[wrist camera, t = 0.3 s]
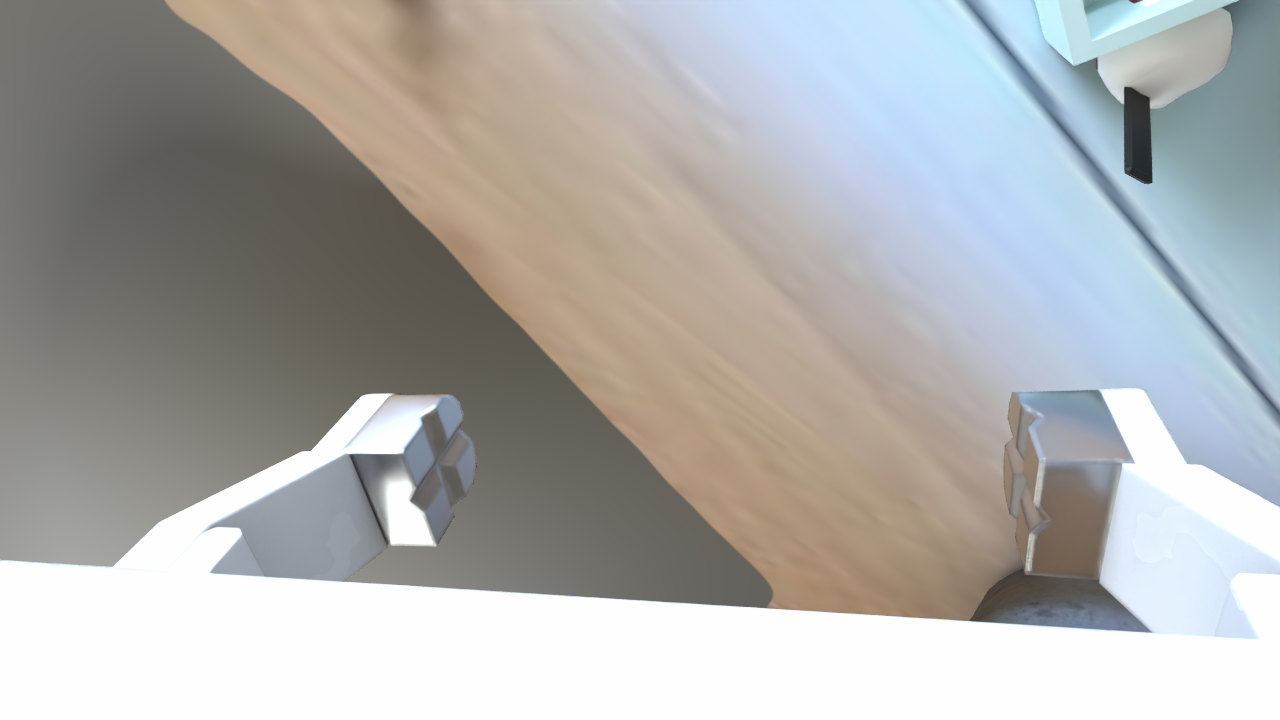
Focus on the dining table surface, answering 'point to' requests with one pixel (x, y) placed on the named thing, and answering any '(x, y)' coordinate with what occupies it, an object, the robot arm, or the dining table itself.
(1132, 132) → the cocoa
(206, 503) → the robot arm
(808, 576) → the dining table surface
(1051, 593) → the pitcher
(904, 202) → the dining table surface
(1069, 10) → the pale cyan corner bracket
